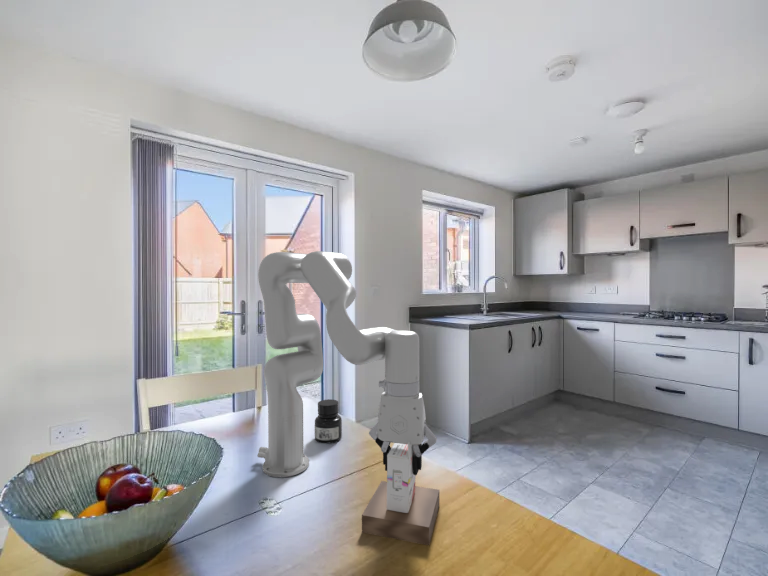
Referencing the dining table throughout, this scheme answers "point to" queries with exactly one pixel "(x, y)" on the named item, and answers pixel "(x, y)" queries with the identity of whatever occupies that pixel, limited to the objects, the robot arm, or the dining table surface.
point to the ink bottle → (328, 422)
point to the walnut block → (402, 516)
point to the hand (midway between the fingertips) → (402, 469)
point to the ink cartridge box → (400, 477)
